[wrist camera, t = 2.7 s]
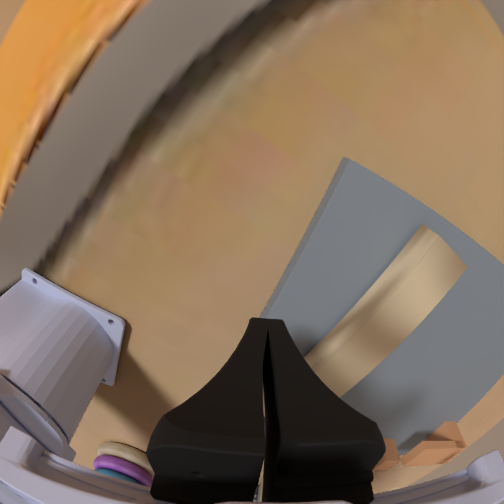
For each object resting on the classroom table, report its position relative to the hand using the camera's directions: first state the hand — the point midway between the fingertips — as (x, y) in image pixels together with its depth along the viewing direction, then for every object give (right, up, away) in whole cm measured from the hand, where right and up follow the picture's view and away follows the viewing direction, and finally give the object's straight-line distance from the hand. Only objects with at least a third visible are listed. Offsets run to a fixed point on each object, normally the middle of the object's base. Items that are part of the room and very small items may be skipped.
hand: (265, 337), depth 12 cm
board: (+12, -6, +8) cm, 15 cm away
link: (+5, -3, +6) cm, 8 cm away
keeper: (+16, -15, +12) cm, 25 cm away
